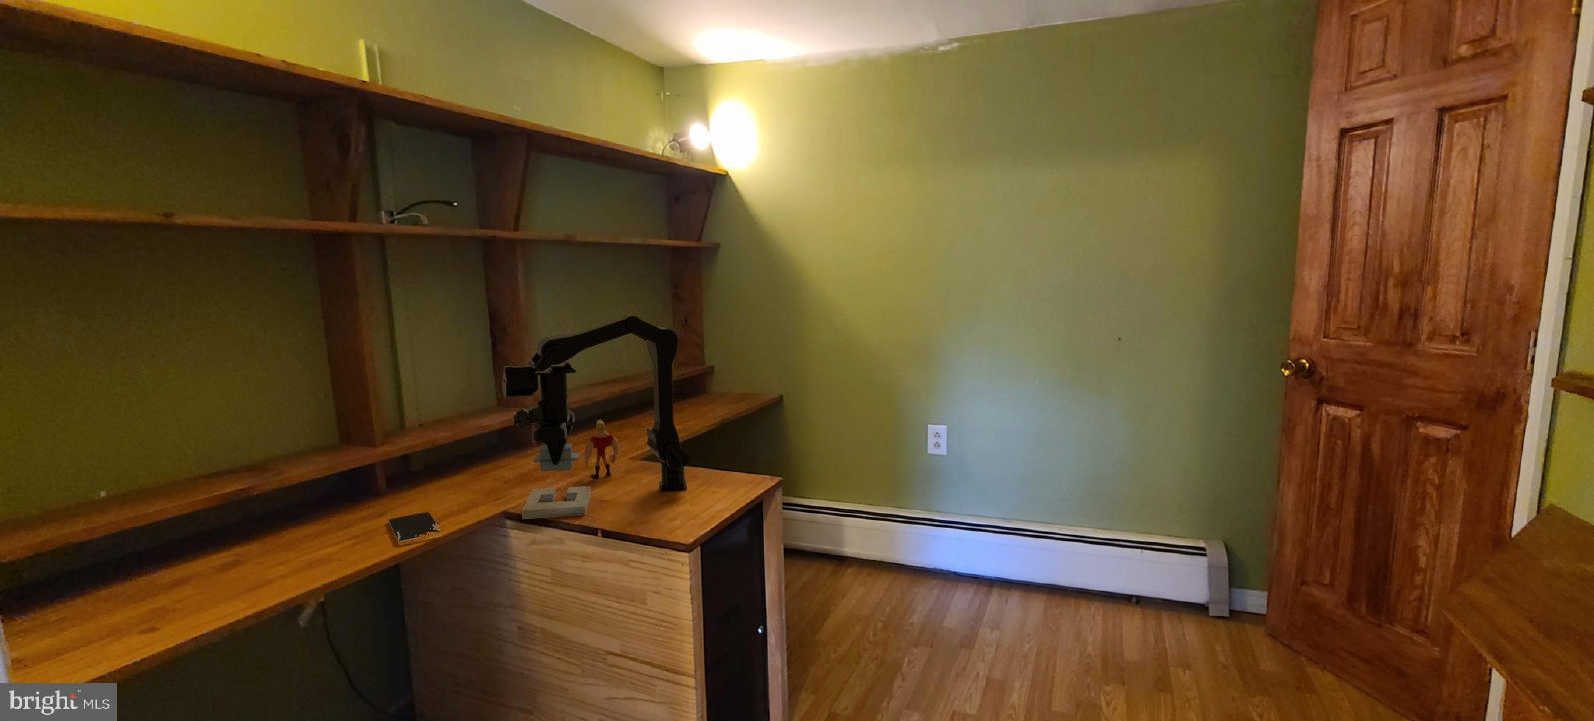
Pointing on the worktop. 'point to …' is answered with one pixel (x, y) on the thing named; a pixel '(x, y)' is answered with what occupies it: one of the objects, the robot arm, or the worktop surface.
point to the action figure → (601, 448)
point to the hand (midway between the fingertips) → (557, 461)
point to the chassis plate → (556, 503)
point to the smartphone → (413, 526)
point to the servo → (563, 464)
